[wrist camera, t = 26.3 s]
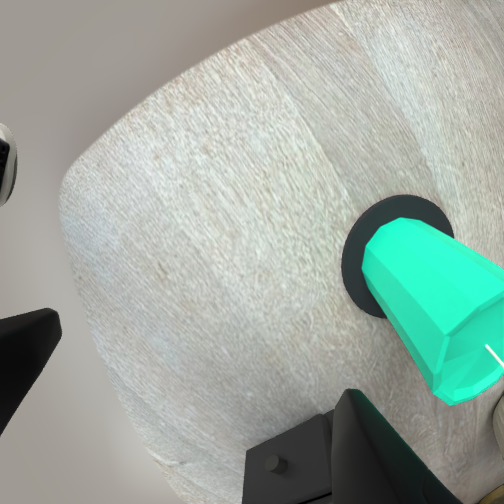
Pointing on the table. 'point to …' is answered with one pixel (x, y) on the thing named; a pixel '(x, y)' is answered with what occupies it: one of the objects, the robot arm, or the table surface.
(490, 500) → the bowl
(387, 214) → the coaster
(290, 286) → the table surface
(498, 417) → the canister
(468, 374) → the candle
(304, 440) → the drawer
